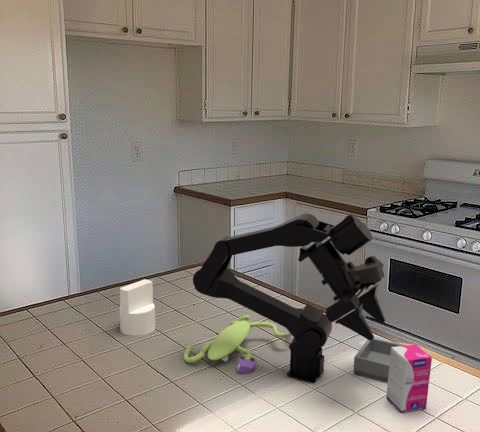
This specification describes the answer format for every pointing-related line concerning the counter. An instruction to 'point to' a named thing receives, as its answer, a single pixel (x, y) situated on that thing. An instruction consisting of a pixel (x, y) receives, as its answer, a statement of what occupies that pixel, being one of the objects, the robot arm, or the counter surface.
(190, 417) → the counter surface
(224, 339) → the figurine
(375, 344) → the bin
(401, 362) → the supplement box
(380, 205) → the counter surface
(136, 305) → the base with upright slab
